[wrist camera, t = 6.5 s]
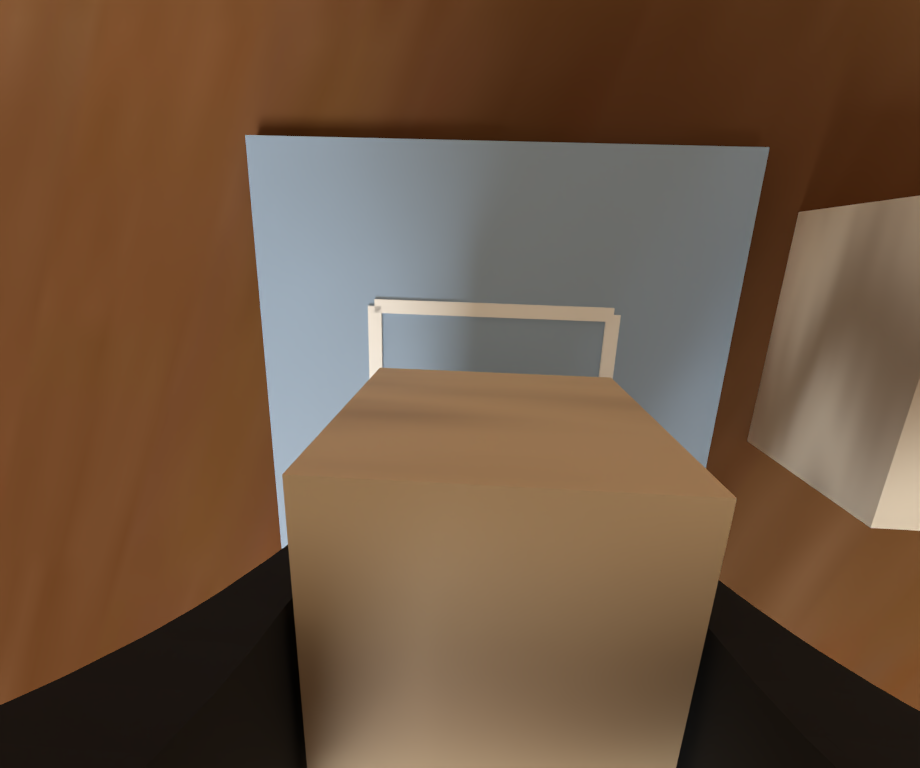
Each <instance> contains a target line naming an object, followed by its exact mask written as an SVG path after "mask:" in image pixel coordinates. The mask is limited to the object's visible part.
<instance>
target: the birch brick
mask: <svg viewBox="0 0 920 768" xmlns="http://www.w3.org/2000/svg"><path fill="white" fill-rule="evenodd" d="M747 441H748V442H749V443H751V444H752V445H753V446H755V447H756V448H758V449H759V450H760V451H762V452H763V453H765V454H766V455H768V456H769V457H770V458H772V459H773V460H775V461H776V462H778V463H779V464H780V465H782V466H783V467H785V468H786V469H788V470H789V471H790V472H792V473H793V474H795V475H796V476H797V477H799V478H800V479H802V480H803V481H805V482H806V483H807V484H809V485H810V486H812V487H813V488H815V489H816V490H817V491H819V492H820V493H822V494H823V495H825V496H826V497H827V498H829V499H830V500H832V501H833V502H834V503H836V504H837V505H839V506H840V507H842V508H843V509H844V510H846V511H847V512H849V513H850V514H852V515H853V516H854V517H856V518H857V519H859V520H860V521H862V522H863V523H864V524H866V525H867V526H869V527H870V528H882V529H899V530H917V531H920V196H913V197H905V198H898V199H891V200H883V201H876V202H869V203H861V204H854V205H847V206H840V207H832V208H825V209H818V210H810V211H803V212H799V213H798V217H797V222H796V226H795V231H794V235H793V240H792V244H791V248H790V253H789V257H788V262H787V266H786V271H785V275H784V279H783V284H782V288H781V293H780V297H779V302H778V306H777V311H776V315H775V319H774V324H773V328H772V333H771V337H770V342H769V346H768V350H767V355H766V359H765V364H764V368H763V373H762V377H761V382H760V386H759V390H758V395H757V399H756V404H755V408H754V413H753V417H752V422H751V426H750V430H749V435H748V439H747Z"/></svg>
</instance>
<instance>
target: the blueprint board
mask: <svg viewBox="0 0 920 768" xmlns="http://www.w3.org/2000/svg"><path fill="white" fill-rule="evenodd" d="M245 139H246V150H247V161H248V173H249V184H250V195H251V206H252V218H253V229H254V240H255V252H256V263H257V274H258V285H259V297H260V308H261V319H262V331H263V342H264V353H265V364H266V376H267V387H268V398H269V410H270V421H271V432H272V443H273V455H274V466H275V477H276V488H277V500H278V511H279V522H280V534H281V545H282V549H283V548H284V547H285V546H287V545H288V538H287V526H286V515H285V503H284V491H283V479H282V474H283V473H284V472H285V471H286V470H287V469H288V468H289V466H290V465H291V464H292V463H293V462H294V461H295V460H296V459H297V458H298V457H299V456H300V454H301V453H302V452H303V451H304V450H305V449H306V448H307V447H308V446H309V445H310V443H311V442H312V441H313V440H314V439H315V438H316V437H317V436H318V435H319V434H320V433H321V431H322V430H323V429H324V428H325V427H326V426H327V425H328V424H329V423H330V422H331V421H332V419H333V418H334V417H335V416H336V415H337V414H338V413H339V412H340V411H341V410H342V408H343V407H344V406H345V405H346V404H347V403H348V402H349V401H350V400H351V399H352V398H353V396H354V395H355V394H356V393H357V392H358V391H359V390H360V389H361V388H362V387H363V386H364V384H365V383H366V382H367V381H368V380H369V379H370V378H371V377H372V376H373V375H374V373H375V372H376V371H377V370H378V369H379V368H400V369H423V370H447V371H470V372H493V373H516V374H540V375H563V376H586V377H609V378H612V379H613V380H614V381H615V382H616V383H617V384H618V385H619V386H620V387H621V388H622V389H623V390H625V391H626V392H627V393H628V394H629V395H630V396H631V397H632V398H633V399H634V400H635V401H636V402H637V403H638V404H639V405H640V406H641V407H642V408H643V409H644V410H645V411H646V412H647V413H648V414H650V415H651V416H652V417H653V418H654V419H655V420H656V421H657V422H658V423H659V424H660V425H661V426H662V427H663V428H664V429H665V430H666V431H667V432H668V433H669V434H670V435H671V436H672V437H673V438H675V439H676V440H677V441H678V442H679V443H680V444H681V445H682V446H683V447H684V448H685V449H686V450H687V451H688V452H689V453H690V454H691V455H692V456H693V457H694V458H695V459H696V460H697V461H698V462H699V463H701V464H702V465H703V466H704V467H705V468H706V465H707V460H708V455H709V450H710V445H711V440H712V435H713V430H714V425H715V420H716V415H717V410H718V404H719V399H720V394H721V389H722V384H723V379H724V374H725V369H726V364H727V359H728V354H729V349H730V344H731V339H732V334H733V329H734V324H735V319H736V314H737V309H738V304H739V299H740V294H741V289H742V284H743V279H744V274H745V269H746V264H747V259H748V254H749V249H750V244H751V239H752V234H753V229H754V224H755V218H756V213H757V208H758V203H759V198H760V193H761V188H762V183H763V178H764V173H765V168H766V163H767V158H768V153H769V148H770V147H738V146H695V145H652V144H609V143H566V142H523V141H480V140H437V139H394V138H351V137H308V136H266V135H245Z"/></svg>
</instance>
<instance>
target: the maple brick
mask: <svg viewBox="0 0 920 768" xmlns="http://www.w3.org/2000/svg"><path fill="white" fill-rule="evenodd" d="M282 479H283V491H284V503H285V515H286V526H287V538H288V550H289V561H290V573H291V585H292V596H293V608H294V620H295V631H296V643H297V655H298V667H299V678H300V690H301V702H302V713H303V725H304V737H305V748H306V760H307V768H676V766H677V761H678V757H679V753H680V748H681V744H682V739H683V735H684V730H685V726H686V722H687V717H688V713H689V708H690V704H691V699H692V695H693V691H694V686H695V682H696V677H697V673H698V669H699V664H700V660H701V655H702V651H703V646H704V642H705V638H706V633H707V629H708V624H709V620H710V615H711V611H712V607H713V602H714V598H715V593H716V589H717V585H718V580H719V576H720V571H721V567H722V562H723V558H724V554H725V549H726V545H727V540H728V536H729V532H730V527H731V523H732V518H733V514H734V509H735V505H736V501H737V498H736V497H735V496H734V495H733V494H732V493H731V492H730V491H729V490H728V489H727V488H726V487H724V486H723V485H722V484H721V483H720V482H719V481H718V480H717V479H716V478H715V477H714V476H713V475H712V474H711V473H710V472H709V471H708V470H707V469H706V468H705V467H704V466H703V465H702V464H701V463H699V462H698V461H697V460H696V459H695V458H694V457H693V456H692V455H691V454H690V453H689V452H688V451H687V450H686V449H685V448H684V447H683V446H682V445H681V444H680V443H679V442H678V441H677V440H676V439H675V438H673V437H672V436H671V435H670V434H669V433H668V432H667V431H666V430H665V429H664V428H663V427H662V426H661V425H660V424H659V423H658V422H657V421H656V420H655V419H654V418H653V417H652V416H651V415H650V414H648V413H647V412H646V411H645V410H644V409H643V408H642V407H641V406H640V405H639V404H638V403H637V402H636V401H635V400H634V399H633V398H632V397H631V396H630V395H629V394H628V393H627V392H626V391H625V390H623V389H622V388H621V387H620V386H619V385H618V384H617V383H616V382H615V381H614V380H613V379H612V378H609V377H586V376H563V375H540V374H516V373H493V372H470V371H447V370H423V369H400V368H379V369H378V370H377V371H376V372H375V373H374V375H373V376H372V377H371V378H370V379H369V380H368V381H367V382H366V383H365V384H364V386H363V387H362V388H361V389H360V390H359V391H358V392H357V393H356V394H355V395H354V396H353V398H352V399H351V400H350V401H349V402H348V403H347V404H346V405H345V406H344V407H343V408H342V410H341V411H340V412H339V413H338V414H337V415H336V416H335V417H334V418H333V419H332V421H331V422H330V423H329V424H328V425H327V426H326V427H325V428H324V429H323V430H322V431H321V433H320V434H319V435H318V436H317V437H316V438H315V439H314V440H313V441H312V442H311V443H310V445H309V446H308V447H307V448H306V449H305V450H304V451H303V452H302V453H301V454H300V456H299V457H298V458H297V459H296V460H295V461H294V462H293V463H292V464H291V465H290V466H289V468H288V469H287V470H286V471H285V472H284V473H283V474H282Z"/></svg>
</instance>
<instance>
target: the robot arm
mask: <svg viewBox="0 0 920 768" xmlns="http://www.w3.org/2000/svg"><path fill="white" fill-rule="evenodd" d="M0 768H307V760H306V748H305V737H304V725H303V713H302V702H301V690H300V678H299V667H298V655H297V643H296V631H295V620H294V608H293V596H292V585H291V573H290V561H289V550H288V545H287V546H285V547H284V548H283V549H281V550H280V551H279V552H277V553H276V554H275V555H273V556H272V557H271V558H269V559H268V560H266V561H265V562H263V563H262V564H260V565H259V566H258V567H256V568H255V569H253V570H252V571H250V572H249V573H247V574H246V575H244V576H243V577H241V578H240V579H238V580H237V581H235V582H234V583H233V584H231V585H230V586H228V587H227V588H225V589H224V590H222V591H221V592H219V593H218V594H216V595H214V596H213V597H211V598H210V599H208V600H207V601H205V602H203V603H202V604H200V605H198V606H197V607H195V608H193V609H192V610H190V611H188V612H187V613H185V614H183V615H181V616H180V617H178V618H176V619H174V620H173V621H171V622H169V623H167V624H166V625H164V626H162V627H160V628H159V629H157V630H155V631H153V632H151V633H150V634H148V635H146V636H144V637H142V638H140V639H138V640H136V641H134V642H132V643H130V644H128V645H126V646H124V647H122V648H120V649H118V650H116V651H114V652H112V653H110V654H108V655H106V656H104V657H102V658H100V659H98V660H96V661H94V662H92V663H90V664H88V665H86V666H84V667H82V668H80V669H78V670H76V671H74V672H72V673H70V674H68V675H66V676H64V677H62V678H60V679H58V680H56V681H53V682H51V683H49V684H47V685H44V686H42V687H40V688H38V689H36V690H33V691H31V692H29V693H27V694H25V695H22V696H20V697H18V698H16V699H13V700H11V701H9V702H6V703H4V704H2V705H0ZM676 768H920V711H918V710H916V709H914V708H913V707H911V706H909V705H907V704H905V703H904V702H902V701H900V700H899V699H897V698H895V697H893V696H892V695H890V694H888V693H887V692H885V691H883V690H881V689H880V688H878V687H876V686H875V685H873V684H871V683H870V682H868V681H866V680H865V679H863V678H862V677H860V676H858V675H857V674H855V673H853V672H852V671H850V670H849V669H847V668H845V667H844V666H842V665H841V664H839V663H837V662H836V661H834V660H833V659H831V658H829V657H828V656H826V655H824V654H823V653H821V652H820V651H818V650H817V649H815V648H814V647H812V646H810V645H809V644H807V643H806V642H804V641H803V640H801V639H800V638H798V637H797V636H795V635H794V634H792V633H791V632H790V631H788V630H787V629H785V628H784V627H782V626H781V625H780V624H778V623H777V622H775V621H774V620H772V619H771V618H770V617H768V616H767V615H765V614H764V613H762V612H761V611H760V610H758V609H757V608H755V607H754V606H753V605H751V604H750V603H748V602H747V601H746V600H744V599H743V598H742V597H740V596H739V595H738V594H736V593H735V592H734V591H732V590H731V589H730V588H728V587H727V586H726V585H724V584H723V583H722V582H720V581H719V580H718V585H717V589H716V593H715V598H714V602H713V607H712V611H711V615H710V620H709V624H708V629H707V633H706V638H705V642H704V646H703V651H702V655H701V660H700V664H699V669H698V673H697V677H696V682H695V686H694V691H693V695H692V699H691V704H690V708H689V713H688V717H687V722H686V726H685V730H684V735H683V739H682V744H681V748H680V753H679V757H678V761H677V766H676Z"/></svg>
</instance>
